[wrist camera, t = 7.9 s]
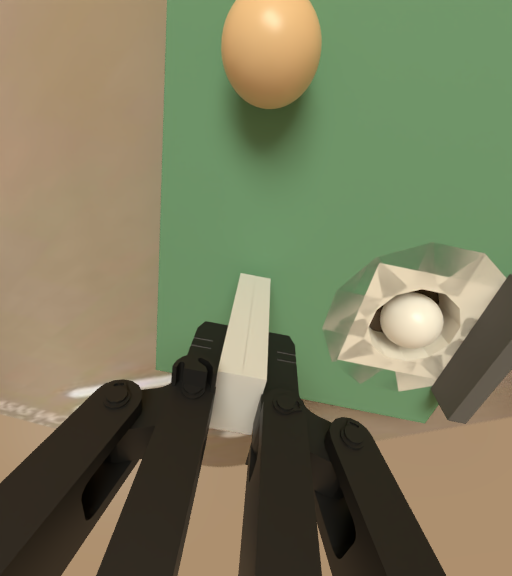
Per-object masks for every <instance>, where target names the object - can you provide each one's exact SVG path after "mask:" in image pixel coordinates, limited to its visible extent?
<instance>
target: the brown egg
mask: <svg viewBox="0 0 512 576" xmlns="http://www.w3.org/2000/svg"><path fill="white" fill-rule="evenodd" d="M321 47H322V36H321V29H320V24H319V20H318V17H317V14H316V12H315V10H314V8H313V6H312V4H311V2H310V1H309V0H236V1H235V2H234V4H233V5H232V7H231V9H230V11H229V13H228V15H227V17H226V20H225V23H224V27H223V32H222V40H221V55H222V62H223V66H224V70H225V73H226V75H227V78H228V80H229V82H230V84H231V85H232V87H233V88H234V90H235V91H236V92H237V94H238V95H239V96H240V97H241V98H242V99H244V100H245V101H246V102H248V103H249V104H251V105H253V106H255V107H259V108H263V109H277V108H281V107H284V106H286V105H288V104H291V103H292V102H294V101H295V100H297V99H298V98H299V97H300V96H301V95H302V94H303V93H304V92H305V91H306V89H307V88H308V87H309V85H310V84H311V82H312V80H313V78H314V76H315V74H316V71H317V68H318V65H319V61H320V56H321Z"/></svg>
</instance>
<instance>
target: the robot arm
mask: <svg viewBox="0 0 512 576" xmlns="http://www.w3.org/2000/svg"><path fill="white" fill-rule="evenodd" d="M270 282H271V279H270V278H264V277H259V276H254V275H249V274H243V273H241V274H240V278H239V282H238V287H237V291H236V295H235V299H234V303H233V308H232V312H231V316H230V320H229V325H224V324H218V323H213V322H208V321H205V322H204V323H203V324H201V325H200V326H199V327H198V328H197V330H196V333H195V336H194V338H193V341H192V343H191V346H190V349H189V351H188V354H187V355H186V356H183V357H181V358H179V359H178V360H176V362H175V363H174V365H173V366H172V381H171V383H170V384H169V385H166V386H164V387H161V388H156V389H146V390H141V389H140V387H139V385H137V384H136V383H134V382H133V381H129V380H114V381H111V382H109V383H106V384H104V385H103V386H101V387H100V388H98V389H97V390H96V391H95V392H94V393H93V394H92V395H91V396H90V397H89V398H88V399H87V400H86V401H85V402H84V403H83V404H82V405H81V406H80V407H79V408H77V409H76V410H75V411H74V412H73V413H72V414H71V415H70V416H69V417H68V418H67V419H66V420H65V421H64V422H63V423H62V424H61V425H60V426H59V427H58V428H57V429H56V430H55V431H54V432H53V433H52V434H51V435H50V436H49V437H48V438H47V439H46V440H44V442H42V443H41V444H40V446H38V447H37V448H36V449H35V450H34V451H33V452H32V453H31V454H30V455H29V456H28V457H27V458H26V459H25V460H24V461H23V462H22V463H21V464H20V465H19V466H18V467H17V468H16V469H15V470H14V471H13V472H12V473H10V474H9V476H7V477H6V478H5V479H4V480H3V481H2V482H1V483H0V576H61V575H62V573H63V572H64V570H65V569H66V567H67V566H68V564H69V563H70V561H71V560H72V558H73V557H74V555H75V554H76V552H77V551H78V550H79V548H80V547H81V545H82V543H83V542H84V541H85V539H86V538H87V536H88V535H89V533H90V532H91V530H92V529H93V527H94V526H95V524H96V523H97V521H98V520H99V518H100V517H101V516H102V514H103V513H104V511H105V510H106V508H107V507H108V505H109V504H110V502H111V500H112V499H113V498H114V496H115V494H116V493H117V492H118V490H119V489H120V487H121V486H122V484H123V483H124V482H125V480H126V478H127V477H128V475H129V474H130V473H131V471H132V470H133V468H134V467H135V465H136V464H137V462H138V461H139V459H142V461H141V464H140V466H139V469H138V471H137V474H136V477H135V479H134V481H133V484H132V487H131V489H130V492H129V494H128V497H127V499H126V502H125V504H124V507H123V509H122V512H121V514H120V517H119V520H118V522H117V525H116V527H115V530H114V532H113V535H112V537H111V540H110V542H109V545H108V547H107V550H106V553H105V555H104V557H103V560H102V563H101V565H100V568H99V570H98V573H97V575H96V576H177V575H178V570H179V566H180V561H181V557H182V552H183V547H184V543H185V538H186V534H187V529H188V524H189V520H190V514H191V510H192V506H193V501H194V497H195V492H196V487H197V482H198V478H199V473H200V469H201V464H202V460H203V455H204V450H205V446H206V440H207V434H208V430H209V428H212V429H218V430H223V431H229V432H235V433H241V434H247V435H251V434H252V443H251V447H250V450H249V453H248V457H247V460H246V464H245V465H248V471H247V481H246V493H245V505H244V516H243V528H242V539H241V551H240V563H239V574H238V576H322V572H321V562H320V553H319V541H318V531H317V524H318V528H319V531H320V535H321V538H322V542H323V545H324V549H325V552H326V555H327V559H328V562H329V566H330V569H331V572H332V576H446V574H445V572H444V571H443V569H442V567H441V565H440V563H439V561H438V559H437V557H436V555H435V553H434V552H433V550H432V548H431V546H430V544H429V542H428V540H427V539H426V537H425V535H424V533H423V531H422V529H421V527H420V525H419V523H418V522H417V520H416V518H415V516H414V514H413V512H412V510H411V509H410V507H409V505H408V503H407V501H406V499H405V498H404V495H403V493H402V492H401V490H400V488H399V486H398V484H397V482H396V480H395V478H394V477H393V475H392V473H391V471H390V469H389V467H388V465H387V463H386V462H385V460H384V458H383V456H382V455H381V453H380V450H379V448H378V447H377V445H376V443H375V441H374V439H373V437H372V436H371V434H370V433H369V431H368V430H367V429H366V428H365V427H364V426H363V425H362V424H360V423H359V422H357V421H355V420H353V419H351V418H345V417H341V418H337V419H335V420H334V421H333V422H332V423H331V422H329V421H327V420H325V419H323V418H321V417H319V416H317V415H315V414H313V413H312V412H311V411H309V410H308V409H307V408H306V407H305V405H304V403H303V401H302V400H301V398H300V396H299V388H298V376H297V364H296V356H295V355H296V352H295V344H294V343H293V341H292V339H291V338H290V336H288V335H282V334H277V333H271V332H269V308H270ZM252 430H253V433H252Z"/></svg>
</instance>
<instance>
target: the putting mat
mask: <svg viewBox="0 0 512 576" xmlns="http://www.w3.org/2000/svg"><path fill="white" fill-rule="evenodd" d="M235 1H236V0H167V20H166V53H165V86H164V118H163V151H162V184H161V216H160V249H159V282H158V314H157V347H156V370H160V371H165V372H170V373H172V366H173V365H174V363H175V362H176V360H178V359H179V358H181V357H183V356H186V355H187V354H188V351H189V349H190V346H191V343H192V341H193V338H194V336H195V333H196V330H197V328H198V327H199V326H200V325H201V324H203V323H204V322H205V321H208V322H213V323H218V324H224V325H229V320H230V316H231V312H232V308H233V303H234V299H235V295H236V291H237V287H238V282H239V278H240V274H241V273H243V274H249V275H254V276H259V277H264V278H270V279H271V282H270V308H269V332H271V333H277V334H282V335H288V336H290V338H291V339H292V341H293V343H294V344H295V352H296V355H295V356H296V364H297V376H298V388H299V396H300V398H301V399H305V400H310V401H315V402H320V403H325V404H330V405H336V406H341V407H346V408H351V409H356V410H361V411H366V412H371V413H376V414H381V415H386V416H391V417H396V418H401V419H406V420H411V421H416V422H421V423H425V422H426V421H427V420H428V418H429V417H430V416H431V414H432V413H433V412H434V410H435V409H436V408H437V406H438V405H440V407H441V409H442V411H443V413H444V414H445V416H446V418H447V420H449V421H454V422H459V423H464V424H466V423H467V421H468V420H469V419H470V418H471V417H472V416H473V414H474V413H475V412H476V411H477V410H478V408H479V407H480V406H481V405H482V404H483V403H484V401H485V400H486V399H487V398H488V397H489V395H490V394H491V393H492V392H493V391H494V390H495V388H496V387H497V386H498V385H499V384H500V382H501V381H502V380H503V379H504V378H505V377H506V375H507V374H508V373H509V372H510V371H511V369H512V0H309V1H310V2H311V4H312V6H313V8H314V10H315V12H316V14H317V17H318V20H319V24H320V29H321V36H322V47H321V56H320V61H319V65H318V68H317V71H316V74H315V76H314V78H313V80H312V82H311V84H310V85H309V87H308V88H307V89H306V91H305V92H304V93H303V94H302V95H301V96H300V97H299V98H298V99H297V100H295V101H294V102H292V103H291V104H288V105H286V106H284V107H281V108H277V109H263V108H259V107H255V106H253V105H251V104H249V103H248V102H246V101H245V100H244V99H242V98H241V97H240V96H239V95H238V94H237V92H236V91H235V90H234V88H233V87H232V85H231V84H230V82H229V80H228V78H227V75H226V73H225V70H224V66H223V62H222V55H221V40H222V32H223V27H224V23H225V20H226V17H227V15H228V13H229V11H230V9H231V7H232V5H233V4H234V2H235ZM421 289H423V290H428V291H433V292H438V296H439V303H438V306H439V308H440V310H441V312H442V315H443V321H444V323H443V329H442V332H441V334H440V335H439V337H438V338H437V339H436V340H435V341H434V342H433V343H431V344H430V345H428V346H425V347H422V348H417V349H409V348H404V347H401V346H398V345H396V344H395V343H393V342H392V341H391V340H389V339H388V338H387V336H386V335H385V334H384V333H383V332H378V331H374V330H373V329H372V328H370V327H369V325H370V323H371V321H372V319H373V317H374V315H375V312H376V310H377V309H379V308H380V307H381V306H383V305H384V304H385V303H387V302H388V301H389V300H391V299H392V298H393V297H395V296H396V295H400V294H404V293H408V292H412V291H417V290H421Z"/></svg>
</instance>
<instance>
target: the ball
mask: <svg viewBox="0 0 512 576" xmlns="http://www.w3.org/2000/svg"><path fill="white" fill-rule="evenodd" d="M443 323H444V321H443V315H442V312H441V310H440V308H439V306H438V305H437V304H436V303H435V302H434V301H433V300H432V299H431V298H429V297H427V296H425V295H423V294H420V293H415V292H408V293H404V294H400V295H396V296H395V297H393V298H392V299H391V300H389V301H388V302H387V303H385V305H384V306H383V308H382V310H381V314H380V324H381V328H382V330H383V332H384V334H385V335H386V336H387V338H388V339H389V340H391V341H392V342H393V343H395V344H396V345H398V346H401V347H404V348H409V349H417V348H422V347H425V346H428V345H430V344H431V343H433V342H434V341H435V340H436V339H437V338H438V337H439V335H440V334H441V332H442V329H443Z"/></svg>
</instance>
